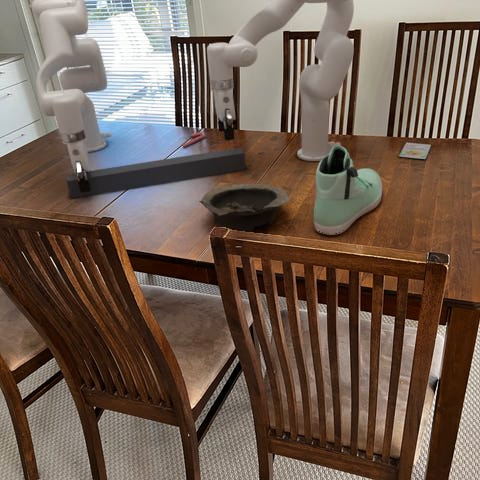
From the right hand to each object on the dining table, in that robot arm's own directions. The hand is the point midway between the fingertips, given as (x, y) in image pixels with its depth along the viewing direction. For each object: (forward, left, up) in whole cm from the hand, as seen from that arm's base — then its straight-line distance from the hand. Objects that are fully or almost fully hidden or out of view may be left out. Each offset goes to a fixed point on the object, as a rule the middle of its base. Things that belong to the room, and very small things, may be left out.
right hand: (226, 135), depth 164 cm
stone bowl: (+4, +38, -12) cm, 40 cm away
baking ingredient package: (-66, +12, -12) cm, 68 cm away
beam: (+25, 0, -12) cm, 28 cm away
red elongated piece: (+8, -34, -12) cm, 37 cm away
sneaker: (-26, +43, -12) cm, 51 cm away
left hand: (+49, 0, -10) cm, 50 cm away
